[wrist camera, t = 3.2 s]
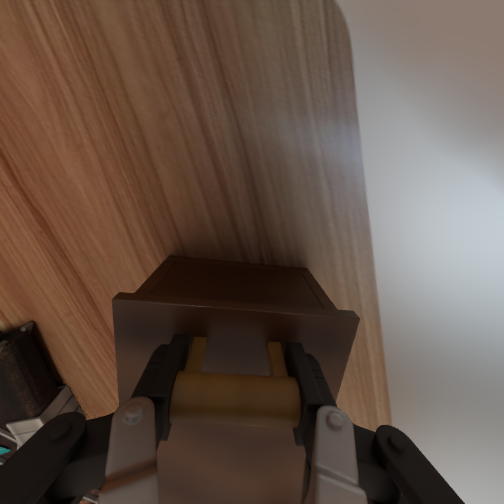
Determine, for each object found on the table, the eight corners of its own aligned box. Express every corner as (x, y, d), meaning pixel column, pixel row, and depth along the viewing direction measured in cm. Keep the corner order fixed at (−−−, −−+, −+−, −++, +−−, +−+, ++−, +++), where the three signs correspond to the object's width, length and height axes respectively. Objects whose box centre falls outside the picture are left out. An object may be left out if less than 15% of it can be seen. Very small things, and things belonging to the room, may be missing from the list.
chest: (168, 255, 21) (120, 307, 13) (307, 268, 22) (349, 324, 14) (167, 390, 26) (131, 495, 17) (281, 396, 27) (301, 497, 18)
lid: (119, 291, 12) (43, 362, 8) (354, 310, 13) (416, 383, 9) (131, 496, 17) (89, 616, 13) (301, 498, 18) (322, 610, 14)
